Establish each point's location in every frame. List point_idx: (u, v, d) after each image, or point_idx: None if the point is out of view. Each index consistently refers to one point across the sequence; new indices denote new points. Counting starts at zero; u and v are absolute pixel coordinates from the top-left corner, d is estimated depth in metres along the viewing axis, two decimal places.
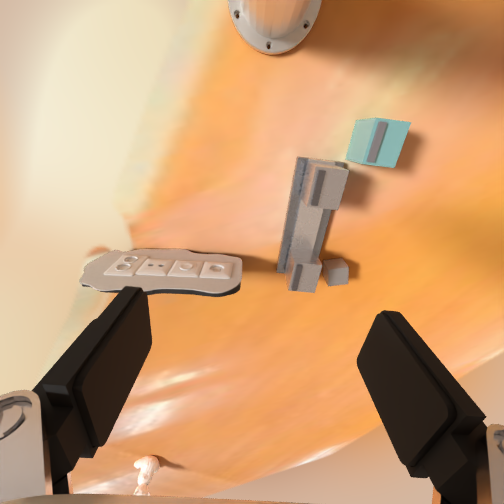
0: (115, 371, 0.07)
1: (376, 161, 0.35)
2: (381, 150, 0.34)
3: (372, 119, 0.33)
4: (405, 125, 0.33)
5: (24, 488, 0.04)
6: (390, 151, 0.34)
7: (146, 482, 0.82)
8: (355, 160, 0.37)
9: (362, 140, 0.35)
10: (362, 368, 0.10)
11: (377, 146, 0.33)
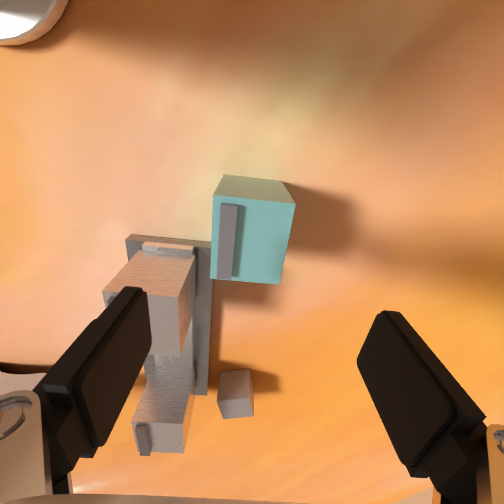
0: (115, 371, 0.07)
1: (239, 274, 0.17)
2: (243, 255, 0.16)
3: None
4: (283, 210, 0.14)
5: (24, 488, 0.04)
6: (262, 256, 0.16)
7: None
8: None
9: None
10: (362, 368, 0.10)
11: (229, 252, 0.15)
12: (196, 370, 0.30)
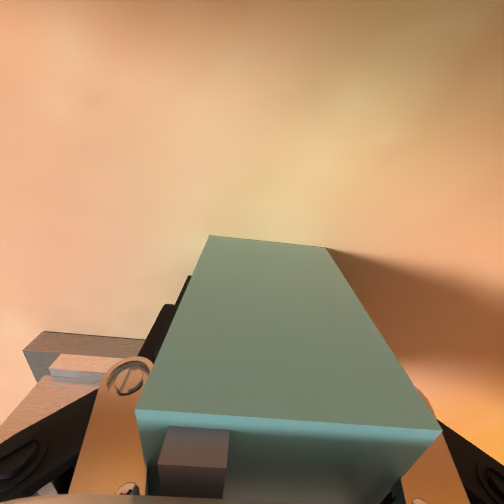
0: None
1: None
2: None
3: None
4: (394, 443, 0.04)
5: (134, 447, 0.05)
6: None
7: None
8: None
9: None
10: None
11: None
12: None
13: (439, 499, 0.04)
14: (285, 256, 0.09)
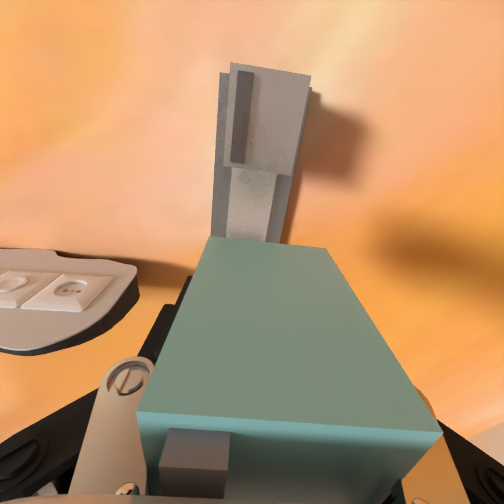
0: None
1: None
2: None
3: None
4: (395, 445, 0.04)
5: (135, 447, 0.05)
6: None
7: None
8: None
9: None
10: None
11: None
12: None
13: (439, 499, 0.04)
14: (285, 257, 0.09)
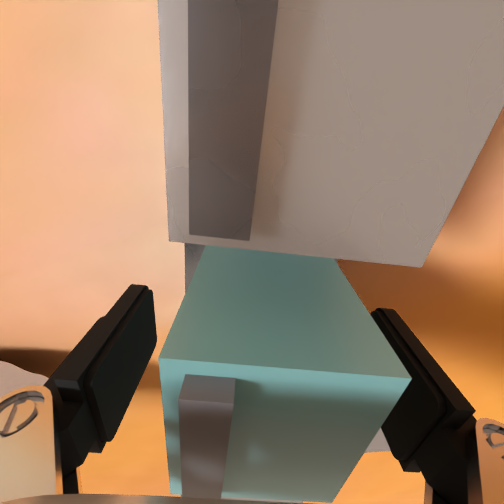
0: (123, 368, 0.07)
1: (240, 489, 0.07)
2: (249, 465, 0.06)
3: None
4: (372, 391, 0.05)
5: (36, 482, 0.04)
6: (298, 466, 0.06)
7: None
8: None
9: None
10: None
11: (211, 480, 0.06)
12: None
13: None
14: None
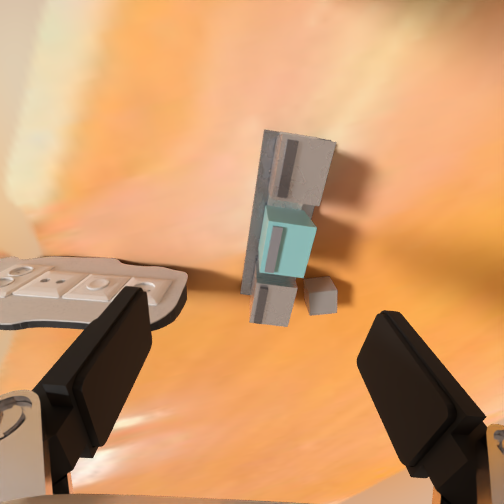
0: (115, 371, 0.07)
1: (278, 270, 0.26)
2: (282, 258, 0.25)
3: (267, 219, 0.25)
4: (309, 231, 0.24)
5: (24, 488, 0.04)
6: (294, 259, 0.25)
7: None
8: (259, 260, 0.28)
9: (263, 239, 0.27)
10: (362, 368, 0.10)
11: (274, 255, 0.25)
12: None
13: None
14: (290, 210, 0.29)
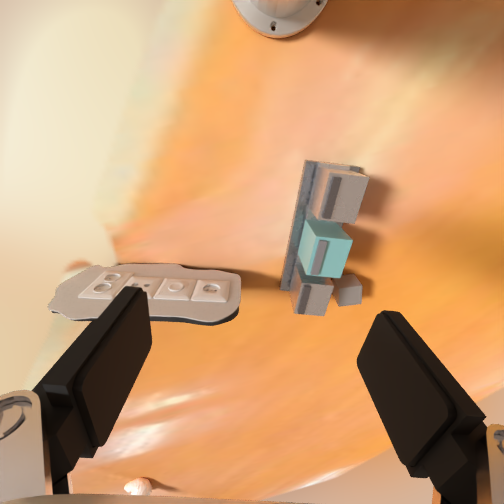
0: (115, 371, 0.07)
1: (321, 272, 0.33)
2: (324, 263, 0.33)
3: (314, 234, 0.32)
4: (347, 243, 0.31)
5: (24, 488, 0.04)
6: (334, 264, 0.33)
7: None
8: (303, 264, 0.36)
9: (307, 248, 0.34)
10: (362, 368, 0.10)
11: (319, 262, 0.32)
12: None
13: None
14: (326, 224, 0.36)
